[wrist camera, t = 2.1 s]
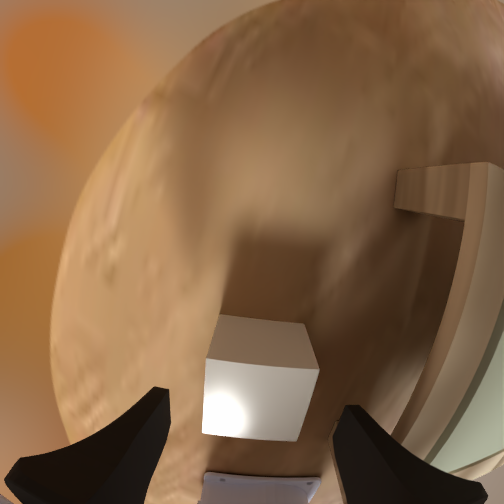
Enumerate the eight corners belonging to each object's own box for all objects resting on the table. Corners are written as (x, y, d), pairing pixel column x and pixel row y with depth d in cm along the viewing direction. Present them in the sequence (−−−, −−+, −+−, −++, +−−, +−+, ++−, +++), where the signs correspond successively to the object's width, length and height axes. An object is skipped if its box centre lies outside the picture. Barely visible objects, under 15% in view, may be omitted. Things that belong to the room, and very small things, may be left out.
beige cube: (213, 380, 16) (202, 432, 12) (219, 313, 15) (206, 358, 11) (288, 388, 16) (296, 441, 12) (303, 323, 15) (319, 369, 11)
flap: (390, 446, 13) (407, 484, 9) (468, 246, 10) (516, 262, 7) (489, 421, 13) (508, 445, 10) (552, 266, 10) (585, 279, 7)
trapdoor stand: (327, 439, 17) (346, 516, 10) (397, 170, 13) (488, 161, 6) (472, 416, 17) (507, 461, 10) (540, 221, 13) (603, 236, 7)
